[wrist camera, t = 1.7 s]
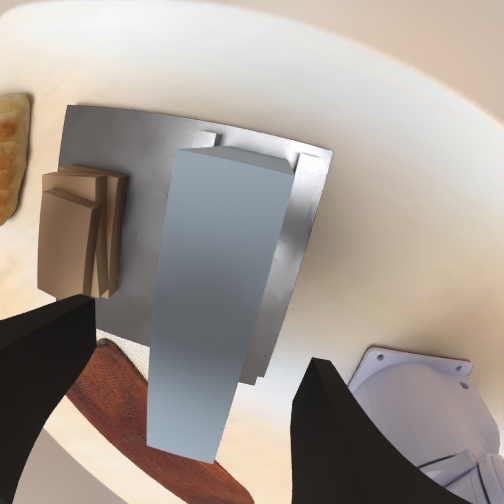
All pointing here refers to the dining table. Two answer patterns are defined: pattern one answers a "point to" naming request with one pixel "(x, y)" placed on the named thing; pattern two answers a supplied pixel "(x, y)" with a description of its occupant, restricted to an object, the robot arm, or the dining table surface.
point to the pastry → (12, 150)
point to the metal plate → (155, 201)
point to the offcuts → (80, 232)
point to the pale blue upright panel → (210, 290)
